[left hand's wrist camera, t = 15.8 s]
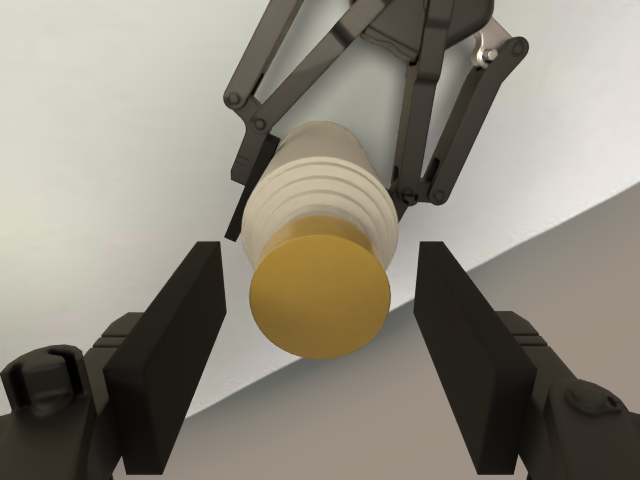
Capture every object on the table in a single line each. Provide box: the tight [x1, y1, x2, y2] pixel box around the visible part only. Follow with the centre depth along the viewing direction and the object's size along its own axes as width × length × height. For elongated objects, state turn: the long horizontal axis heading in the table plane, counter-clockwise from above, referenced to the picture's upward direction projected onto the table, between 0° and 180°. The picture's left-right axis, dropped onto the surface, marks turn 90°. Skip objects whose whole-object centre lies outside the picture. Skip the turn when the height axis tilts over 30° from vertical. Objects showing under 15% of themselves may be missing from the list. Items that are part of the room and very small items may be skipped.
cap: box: [249, 216, 391, 359], centre depth 14 cm, size 4×4×2 cm
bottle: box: [242, 121, 399, 271], centre depth 23 cm, size 7×7×20 cm
